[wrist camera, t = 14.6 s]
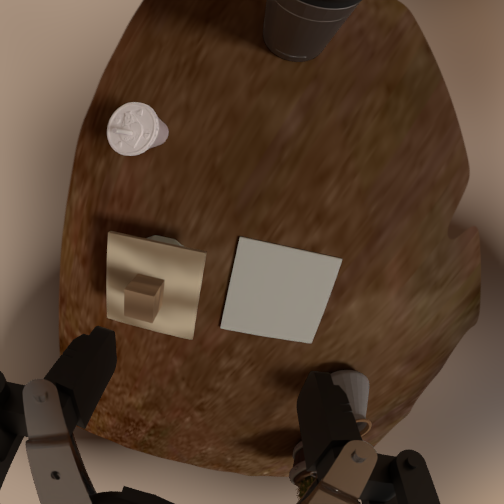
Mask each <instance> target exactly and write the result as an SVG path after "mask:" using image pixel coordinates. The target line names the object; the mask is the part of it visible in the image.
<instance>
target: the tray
mask: <svg viewBox="0 0 504 504" xmlns="http://www.w3.org/2000/svg"><path fill="white" fill-rule="evenodd" d="M341 262H342V259H341V258H337V257H332V256H328V255H324V254H319V253H315V252H310V251H305V250H301V249H296V248H292V247H287V246H283V245H278V244H273V243H269V242H264V241H259V240H255V239H250V238H245V237H241V236H240V238H239V243H238V247H237V252H236V257H235V261H234V266H233V270H232V275H231V280H230V284H229V289H228V294H227V298H226V303H225V308H224V312H223V317H222V322H221V327H220V328H222V329H227V330H232V331H237V332H243V333H248V334H254V335H260V336H266V337H272V338H278V339H285V340H291V341H298V342H305V343H312V340H313V338H314V336H315V333H316V331H317V328H318V325H319V323H320V320H321V318H322V315H323V313H324V310H325V307H326V305H327V302H328V299H329V296H330V294H331V291H332V288H333V285H334V282H335V280H336V277H337V274H338V271H339V268H340V265H341Z"/></svg>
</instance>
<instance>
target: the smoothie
mask: <svg viewBox="0 0 504 504" xmlns="http://www.w3.org/2000/svg"><path fill="white" fill-rule="evenodd" d="M167 137H168V128H167V126H166V125H165V124H164V123H163V122H162V121H161V120H160V119H159V118H158V117H157V114H156V113H155V112H154V110H153V109H152V108H151V107H150V106H148V105H146V104H143V103H139V102H131V103H127V104H124V105H122V106H121V107H119V108H118V109H117V110H116V111H115V112H114V113H113V115H112V116H111V118H110V120H109V123H108V126H107V138H108V141H109V144H110V145H111V147H112V148H113V149H114V150H115V151H116V152H118V153H120V154H122V155H129V156H134V155H139V154H141V153H143V152H145V151H146V150H147V149H149V148H152V147H155V146H158V145H161V144H162V143H164V142H165V141H166V139H167Z"/></svg>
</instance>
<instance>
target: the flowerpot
mask: <svg viewBox="0 0 504 504" xmlns="http://www.w3.org/2000/svg"><path fill="white" fill-rule="evenodd" d="M293 459H294V464H293V468H292V469H291V471H290V473H289V478H290V481H291V482H292V483H293V484H294V485H296V486H298V487H299V489H298V490H299V491H300V494H299V495H298V496H299V497H300V499H301V497H302V496H303V495H304V493H305V492H306V491H307V489H308V488H309V487H310V485H311V484H312V483H313V481H314V480H315V479H316V477H314V476H316V473H315V472H317V471H307V470H306V463H305V457H304V450H303V444H302V440H301V441H300V442H299V443H298V444H297V445H296V446H295V447H294V450H293ZM311 472H313V473H311ZM310 473H311V474H312V475H313V476H311V475H310Z"/></svg>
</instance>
